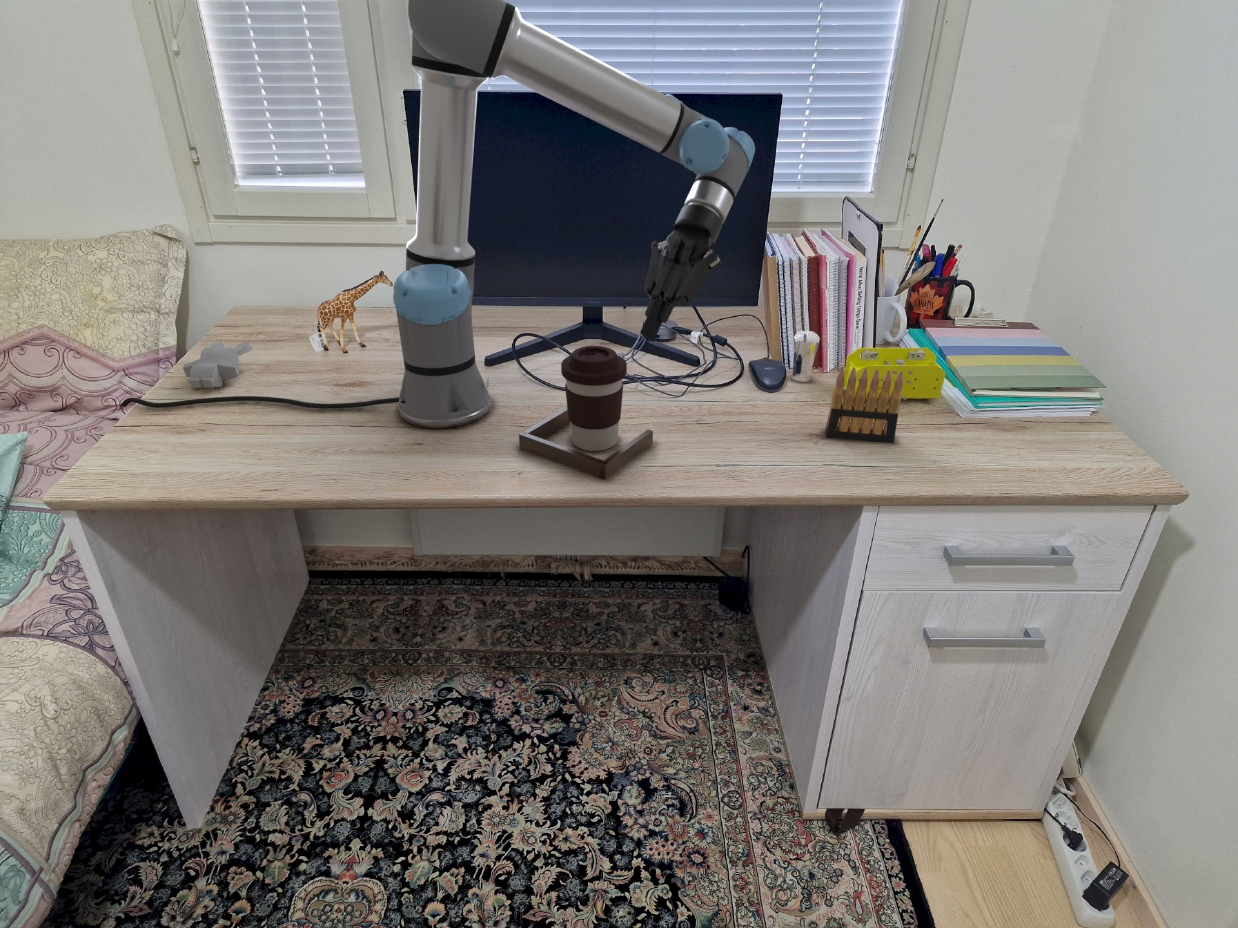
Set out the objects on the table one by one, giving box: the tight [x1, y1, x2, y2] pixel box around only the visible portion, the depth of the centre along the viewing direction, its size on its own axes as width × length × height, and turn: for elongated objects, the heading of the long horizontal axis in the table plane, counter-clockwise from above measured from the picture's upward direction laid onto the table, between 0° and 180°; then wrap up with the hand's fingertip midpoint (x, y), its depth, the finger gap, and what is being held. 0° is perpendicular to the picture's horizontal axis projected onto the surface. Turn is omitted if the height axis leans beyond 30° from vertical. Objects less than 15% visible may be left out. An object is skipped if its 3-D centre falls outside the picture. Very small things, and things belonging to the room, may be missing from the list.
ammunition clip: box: [824, 366, 903, 444], centre depth 120 cm, size 11×2×12 cm, turn 80°
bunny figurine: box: [182, 341, 254, 389], centre depth 141 cm, size 10×5×15 cm
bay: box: [518, 405, 654, 480], centre depth 119 cm, size 13×16×2 cm
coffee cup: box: [560, 345, 628, 452], centre depth 118 cm, size 10×10×15 cm
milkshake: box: [792, 330, 821, 383], centre depth 140 cm, size 5×5×10 cm
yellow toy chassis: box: [843, 347, 946, 401], centre depth 135 cm, size 16×6×8 cm, turn 91°
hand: (646, 336), depth 126 cm, fingers closed
